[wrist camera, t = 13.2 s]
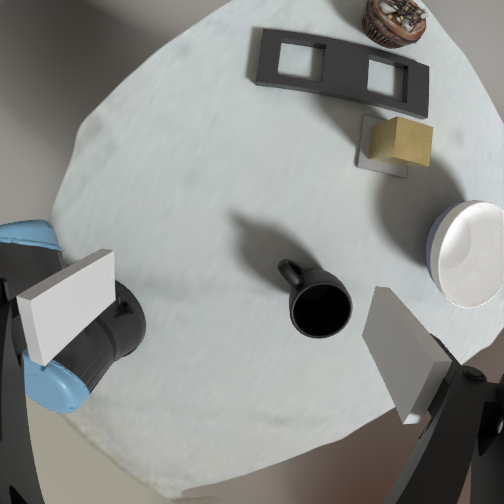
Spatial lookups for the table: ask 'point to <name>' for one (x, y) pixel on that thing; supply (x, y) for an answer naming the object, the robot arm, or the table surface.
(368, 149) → the pad
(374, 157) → the tan wooden peg
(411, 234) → the table surface
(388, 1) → the cupcake
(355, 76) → the dark grey peg board
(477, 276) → the bowl
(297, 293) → the mug
